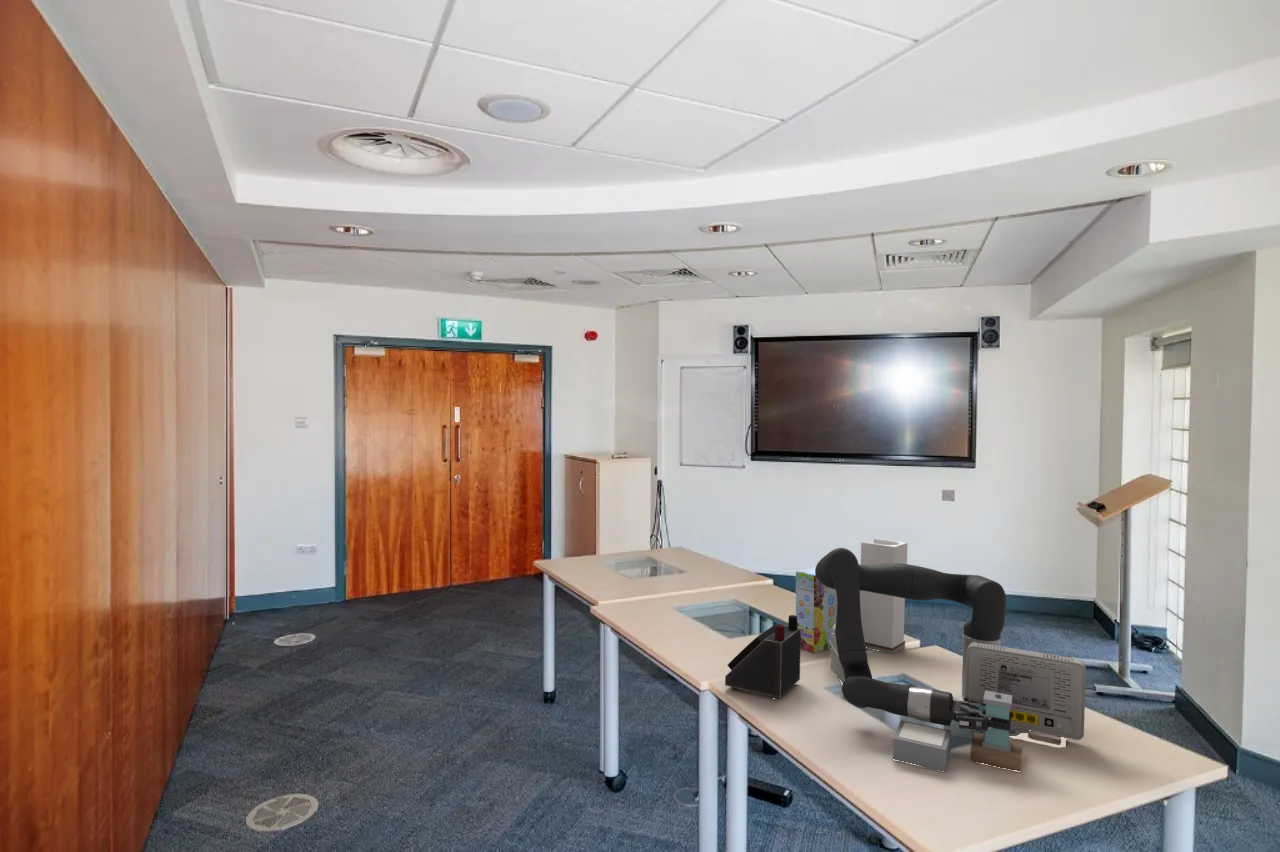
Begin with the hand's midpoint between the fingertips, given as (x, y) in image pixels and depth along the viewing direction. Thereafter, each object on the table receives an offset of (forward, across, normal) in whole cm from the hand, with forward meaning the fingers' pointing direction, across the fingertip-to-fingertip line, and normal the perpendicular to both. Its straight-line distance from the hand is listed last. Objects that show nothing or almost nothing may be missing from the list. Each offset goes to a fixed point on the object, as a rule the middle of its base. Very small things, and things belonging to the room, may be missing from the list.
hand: (1010, 721), depth 164 cm
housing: (-3, 0, +6) cm, 7 cm away
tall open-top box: (-40, +69, +9) cm, 80 cm away
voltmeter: (-63, +13, +9) cm, 65 cm away
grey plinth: (-17, -8, +9) cm, 21 cm away
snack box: (-57, +61, +9) cm, 85 cm away
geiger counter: (-46, +33, +9) cm, 57 cm away
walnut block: (-3, 0, +9) cm, 9 cm away
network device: (+2, +18, +9) cm, 20 cm away
